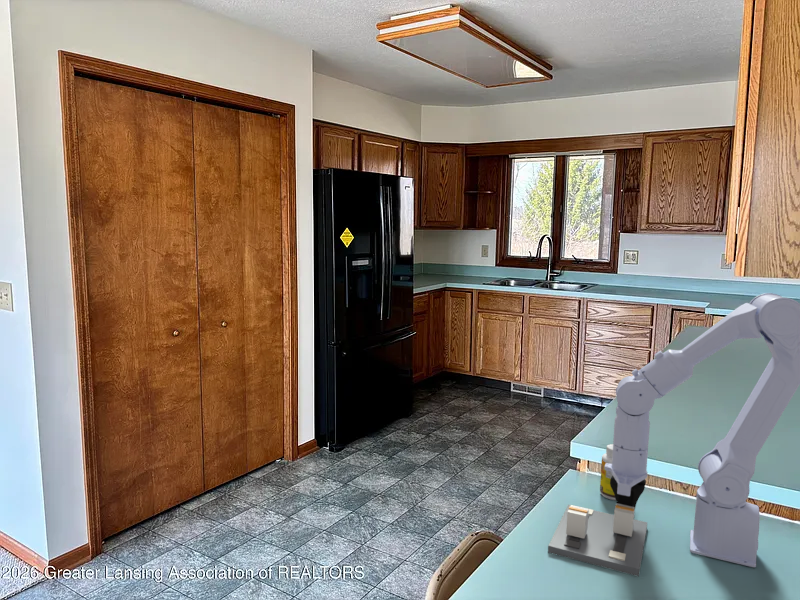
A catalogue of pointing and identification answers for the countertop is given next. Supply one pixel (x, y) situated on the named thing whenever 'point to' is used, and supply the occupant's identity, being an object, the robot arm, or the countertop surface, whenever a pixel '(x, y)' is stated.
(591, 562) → the switch unit
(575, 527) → the toggle
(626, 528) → the toggle
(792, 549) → the countertop surface
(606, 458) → the supplement bottle
